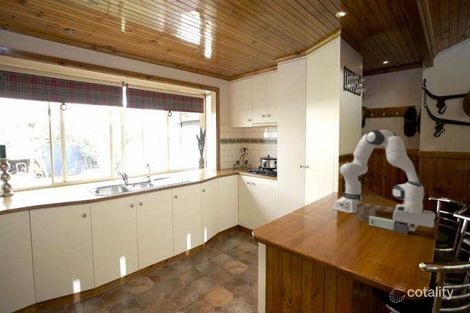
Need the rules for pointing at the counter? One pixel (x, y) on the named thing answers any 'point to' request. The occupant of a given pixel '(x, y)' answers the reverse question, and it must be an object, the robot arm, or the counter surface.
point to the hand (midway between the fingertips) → (412, 230)
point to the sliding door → (381, 222)
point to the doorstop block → (400, 227)
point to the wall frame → (371, 211)
